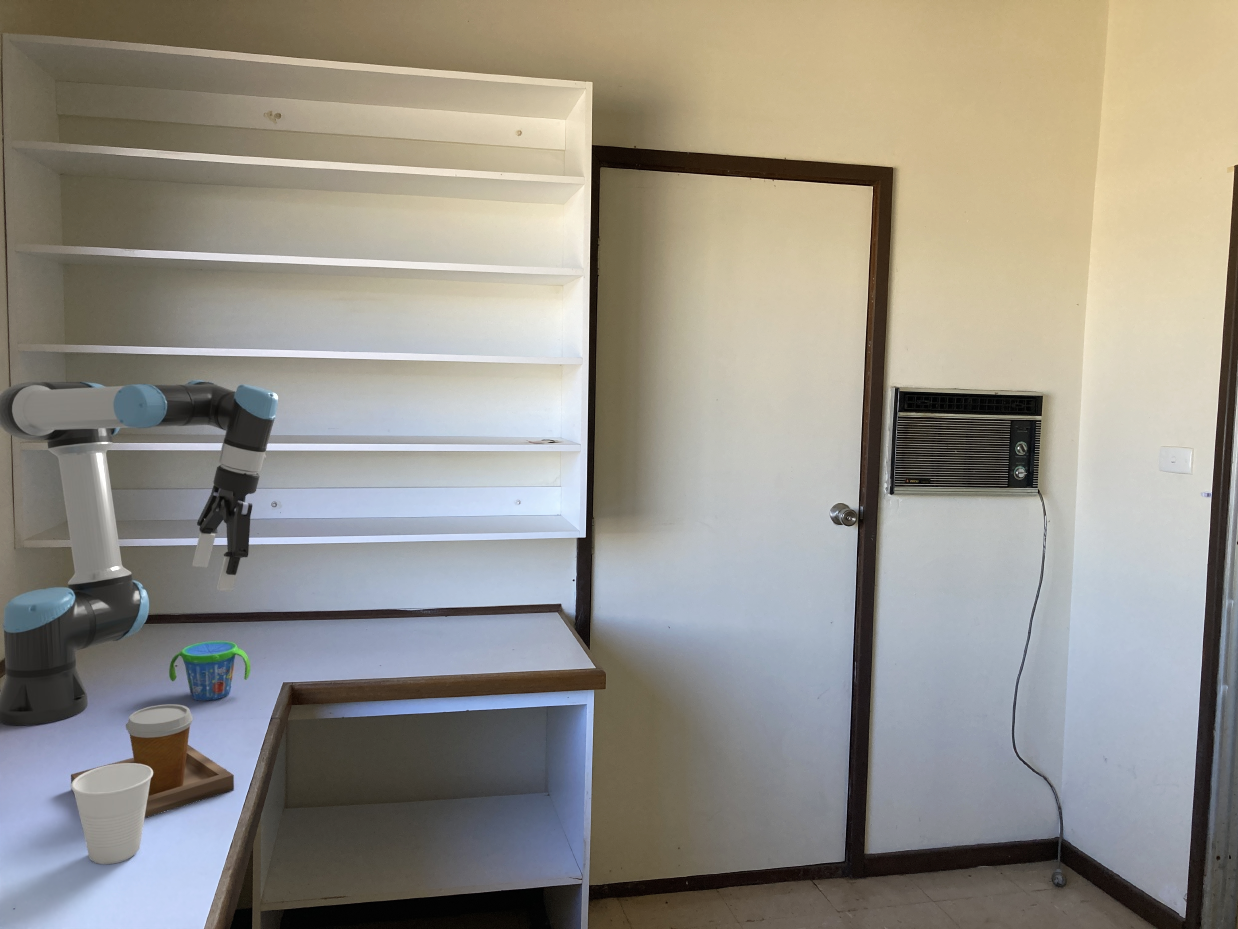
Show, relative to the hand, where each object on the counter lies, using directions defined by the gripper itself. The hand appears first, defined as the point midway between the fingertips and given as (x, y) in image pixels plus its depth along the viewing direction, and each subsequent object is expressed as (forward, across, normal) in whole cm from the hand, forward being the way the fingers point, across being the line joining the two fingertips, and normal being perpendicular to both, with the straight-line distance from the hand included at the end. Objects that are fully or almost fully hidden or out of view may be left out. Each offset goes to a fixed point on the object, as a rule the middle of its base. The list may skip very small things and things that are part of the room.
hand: (211, 578), depth 172 cm
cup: (+27, -44, +22) cm, 56 cm away
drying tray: (+27, -26, +12) cm, 39 cm away
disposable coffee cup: (+26, -28, +11) cm, 40 cm away
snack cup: (+29, +13, -11) cm, 34 cm away
